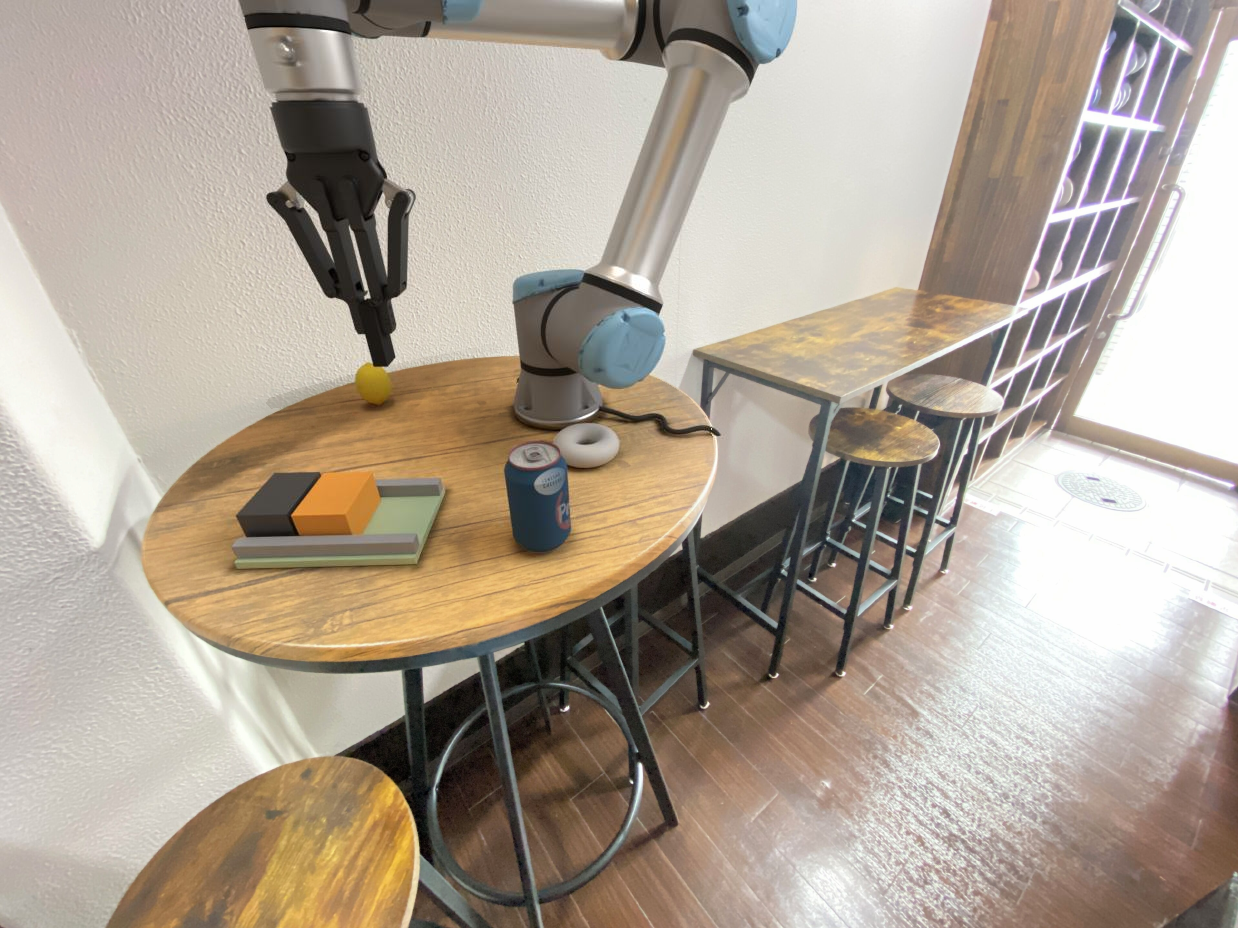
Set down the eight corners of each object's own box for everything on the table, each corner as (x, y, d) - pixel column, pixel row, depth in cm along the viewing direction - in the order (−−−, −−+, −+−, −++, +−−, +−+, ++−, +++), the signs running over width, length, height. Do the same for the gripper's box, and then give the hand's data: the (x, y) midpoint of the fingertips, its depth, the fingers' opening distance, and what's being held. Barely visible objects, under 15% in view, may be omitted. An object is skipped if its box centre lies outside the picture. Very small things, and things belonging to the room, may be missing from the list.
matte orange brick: (381, 500, 69) (372, 471, 67) (356, 544, 62) (345, 514, 59) (334, 501, 69) (323, 472, 67) (303, 546, 62) (290, 515, 59)
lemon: (402, 402, 95) (391, 360, 91) (375, 415, 91) (363, 371, 87) (382, 395, 98) (371, 354, 93) (355, 407, 94) (342, 364, 89)
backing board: (445, 492, 72) (438, 457, 69) (416, 564, 61) (405, 526, 58) (295, 495, 72) (281, 461, 69) (237, 568, 60) (217, 531, 57)
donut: (540, 460, 79) (595, 479, 75) (537, 440, 77) (594, 458, 73) (579, 432, 86) (632, 448, 82) (577, 413, 84) (631, 428, 80)
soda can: (577, 551, 62) (572, 465, 56) (517, 562, 61) (505, 475, 54) (565, 515, 68) (559, 433, 61) (510, 525, 66) (498, 442, 60)
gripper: (212, 97, 42) (308, 377, 55) (380, 97, 42) (436, 375, 55) (262, 100, 48) (338, 350, 61) (408, 100, 48) (453, 348, 61)
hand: (384, 361), depth 58 cm, fingers closed
